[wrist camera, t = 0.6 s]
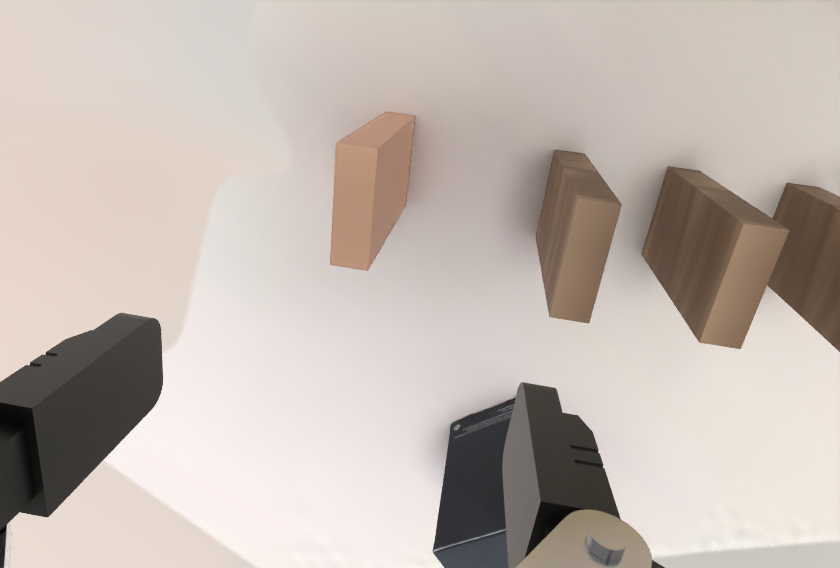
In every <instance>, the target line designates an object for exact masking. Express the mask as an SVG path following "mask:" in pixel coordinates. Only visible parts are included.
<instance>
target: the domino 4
mask: <svg viewBox="0 0 840 568" xmlns="http://www.w3.org/2000/svg"><path fill="white" fill-rule="evenodd" d="M773 220H775V221H776V222H778V223H779V224H781V225H782V226H784V227H785V228H787V229H788V230H789V233H788V235H787V238H786V240H785V242H784V245H783V247H782V250H781V252H780V255H779V257H778V259H777V262H776V264H775V267H774V269H773V272H772V274H771V276H770V279H769V281H768V284H767V285H768V286H769V287H770V288H771V289H772V290H773V291H774V292H775V293H776V294H778V295H779V296H780V297H781V298H782V299H783V300H784V301H785V302H786V303H787V304H788V305H789V306H791V307H792V308H793V309H794V310H795V311H796V312H797V313H798V314H799V315H800V316H801V317H803V318H804V319H805V320H806V321H807V322H808V323H809V324H810V325H811V326H812V327H813V328H814V329H816V330H817V331H818V332H819V333H820V334H821V335H822V336H823V337H824V338H825V339H826V340H828V341H829V342H830V343H831V344H832V345H833V346H834V347H835V348H836V349H837V350H838V351H839V352H840V197H839V196H837V195H834V194H832V193H830V192H828V191H826V190H824V189H822V188H819V187H813V186H805V185H798V184H791V183H787V184H786V187H785V189H784V192H783V194H782V197H781V199H780V202H779V204H778V207H777V210H776V212H775V215H774V217H773Z"/></svg>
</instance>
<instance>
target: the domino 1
mask: <svg viewBox="0 0 840 568" xmlns="http://www.w3.org/2000/svg"><path fill="white" fill-rule="evenodd" d="M414 123H415V116H413V115H405V114H398V113H391V112H385V113H384V114H382V115H380V116H379V117H377V118H375V119H374V120H372V121H371V122H369V123H367V124H366V125H364V126H363V127H361V128H359V129H358V130H356V131H355V132H353V133H351V134H350V135H348V136H346V137H345V138H343V139H342V140H340V141H338V142H337V143H336V156H335V176H334V197H333V217H332V237H331V257H330V265H335V266H341V267H347V268H354V269H360V270H366V271H368V270H369V268H370V266H371V265H372V263H373V261H374V259H375V258H376V256H377V254H378V252H379V251H380V249H381V247H382V246H383V244H384V242H385V240H386V239H387V237H388V235H389V233H390V232H391V230H392V228H393V227H394V225H395V223H396V221H397V220H398V218H399V216H400V214H401V213H402V211H403V209H404V208H405V206H406V199H407V189H408V180H409V171H410V161H411V152H412V142H413V133H414Z"/></svg>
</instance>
